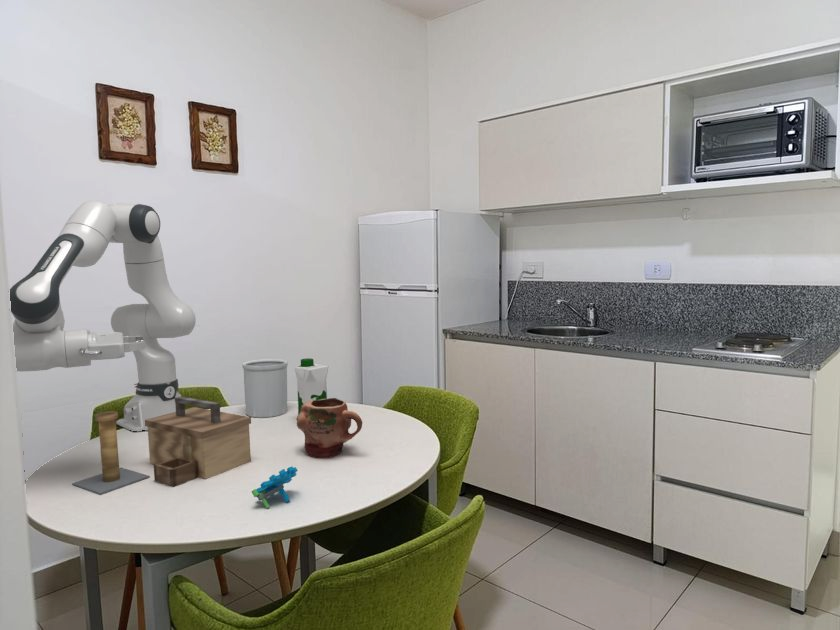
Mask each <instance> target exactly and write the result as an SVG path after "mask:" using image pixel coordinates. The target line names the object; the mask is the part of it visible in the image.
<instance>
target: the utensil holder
mask: <svg viewBox="0 0 840 630" xmlns="http://www.w3.org/2000/svg"><path fill="white" fill-rule="evenodd" d="M242 369H243V385H244V387H243V389H244V406H245V414H246V416H247V417H251V418H259V419H260V418H261V419H262V418H273V417H279V416H282V415H284V414H285V413H287V412H288V361H287V360H286V359H280V358H278V359H277V358H262V359H252V360H247V361H244V362H242Z"/></svg>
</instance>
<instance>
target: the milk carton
mask: <svg viewBox="0 0 840 630" xmlns="http://www.w3.org/2000/svg"><path fill="white" fill-rule="evenodd" d="M314 362H315V361H314V359H313V358H309V357H308V358H302V359H300V365H298V366H295V367H294V371H295V378H296V385H297V408H298V410H297V411H298V412H297V416H298V415H299V414H300V410H301V406H302V405H303V404H304V403H306V402H308V401H311V400H321V399H328V392H327V391H328V390H327V378H328V377H327V376H328V371H329V366H328V365H324V364H320V363H314Z"/></svg>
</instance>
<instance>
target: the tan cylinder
mask: <svg viewBox="0 0 840 630" xmlns="http://www.w3.org/2000/svg"><path fill="white" fill-rule="evenodd" d="M94 417H95V418H94V419H95V422H98V435H99V445H100V446H99V447H100V459H101V461H100V462H101V471H102V472H101V474H102V475H103V482H113V481H117V480H119V479H120V471H119V468H120V461H119V459H120V458H119V446H118V435H117V432H118V431H117V424H116V421H117V419H119V412H118V411H114V410H113V411H111V410H110V411H108V410H107V411H103V412H98V413H96V414H95V415H94Z"/></svg>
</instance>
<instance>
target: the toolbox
mask: <svg viewBox="0 0 840 630" xmlns="http://www.w3.org/2000/svg"><path fill="white" fill-rule="evenodd" d="M175 405H176V412H173V413H169V414H166V415H162V416H158V417H154V418H150V419H147V420H145V426H147V427H148V430H147V436H148V437H147V438H148V452H149V454H148V455H149V464H150V463H151V464H150V465H153V464H155V465H153V475H154V477H153V479H154V482H155V483H158V484H161V485H165V486H169V487H171V488H174V487H177V486H179V485H181V484H184V483H187V482H190V481H192V480H195V479H197V478H198V479H199V478H200V479H205V480H207V479H209V478H212V477H214V476H217V475H219V474H223V473H224V472H227V471H230V470H232V469H235V468H237V467H241V466H243V465H245V464H247V462H248V463H250V462H252V460H251V459H252V456H251V440H250V439H251V437H250V425H251V424H252V417H250V416H247V415H242V414H241V415H239V414H236V413H228V412H223V411H221V403H220V402H214V401H209V400H204V399H197V398H192V397H186V396H182V395H181V396H179V397H175ZM185 405H189V406H193V407H189V408H186V406H185ZM242 464H243V465H242Z"/></svg>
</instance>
